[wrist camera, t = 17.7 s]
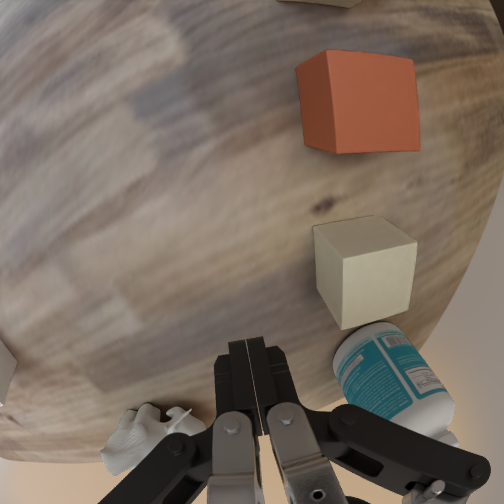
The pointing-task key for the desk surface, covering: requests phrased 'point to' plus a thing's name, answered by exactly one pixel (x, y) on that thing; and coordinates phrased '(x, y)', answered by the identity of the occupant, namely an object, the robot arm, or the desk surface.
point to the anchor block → (359, 102)
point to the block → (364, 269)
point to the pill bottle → (394, 381)
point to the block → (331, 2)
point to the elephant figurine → (144, 435)
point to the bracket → (5, 371)
